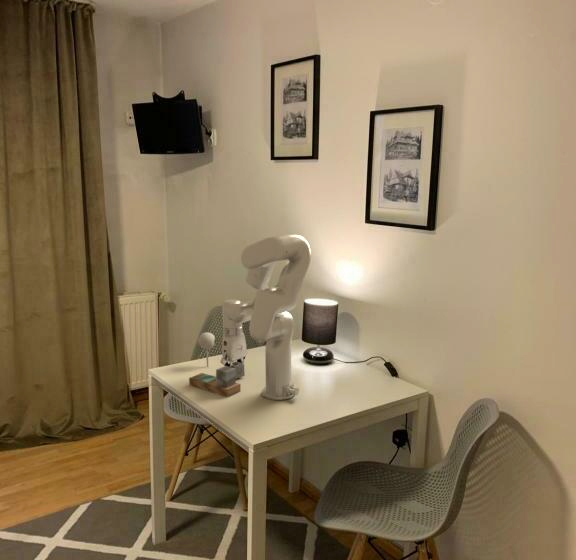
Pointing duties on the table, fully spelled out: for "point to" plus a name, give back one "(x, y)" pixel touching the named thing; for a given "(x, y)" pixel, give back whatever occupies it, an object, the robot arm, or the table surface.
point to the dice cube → (238, 369)
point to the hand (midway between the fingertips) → (235, 374)
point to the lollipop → (206, 342)
